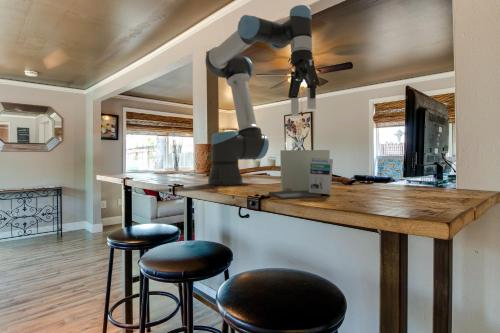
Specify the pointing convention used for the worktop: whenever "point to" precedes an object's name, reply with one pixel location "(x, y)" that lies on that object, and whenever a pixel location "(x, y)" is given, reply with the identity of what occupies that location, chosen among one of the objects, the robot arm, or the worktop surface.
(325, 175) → the light bulb box
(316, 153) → the screen
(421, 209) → the worktop surface
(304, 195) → the mat
